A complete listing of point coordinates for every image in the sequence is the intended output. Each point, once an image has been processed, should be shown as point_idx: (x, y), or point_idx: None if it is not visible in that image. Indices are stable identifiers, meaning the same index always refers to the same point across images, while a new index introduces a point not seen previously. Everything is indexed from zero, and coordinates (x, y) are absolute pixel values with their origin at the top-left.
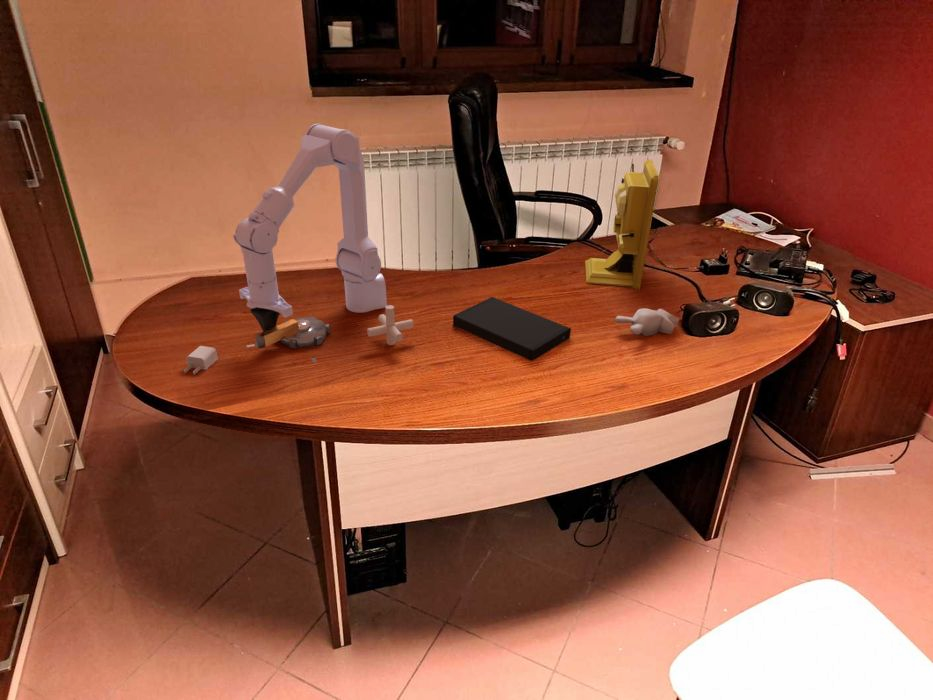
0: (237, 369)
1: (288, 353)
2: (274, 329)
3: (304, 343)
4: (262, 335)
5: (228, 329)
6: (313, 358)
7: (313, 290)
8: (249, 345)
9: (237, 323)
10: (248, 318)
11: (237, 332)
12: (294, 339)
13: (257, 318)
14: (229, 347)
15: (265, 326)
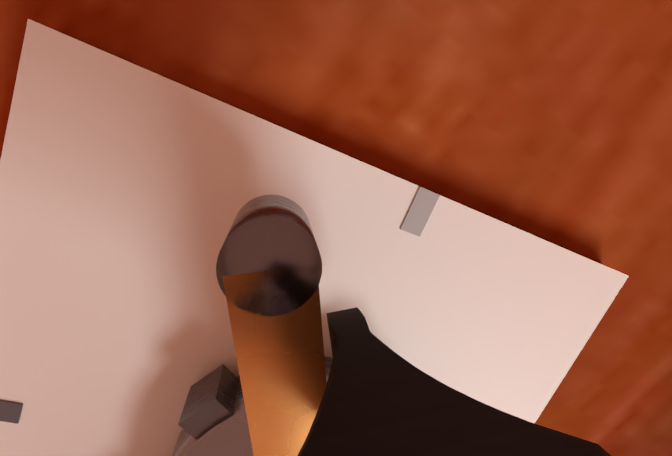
0: (274, 18)
1: None
2: (284, 416)
3: (176, 448)
4: (250, 289)
5: (661, 224)
6: (15, 413)
7: None
8: (426, 207)
9: (664, 282)
10: (655, 336)
11: (606, 242)
12: (205, 435)
13: (441, 416)
14: (525, 133)
15: (328, 388)
